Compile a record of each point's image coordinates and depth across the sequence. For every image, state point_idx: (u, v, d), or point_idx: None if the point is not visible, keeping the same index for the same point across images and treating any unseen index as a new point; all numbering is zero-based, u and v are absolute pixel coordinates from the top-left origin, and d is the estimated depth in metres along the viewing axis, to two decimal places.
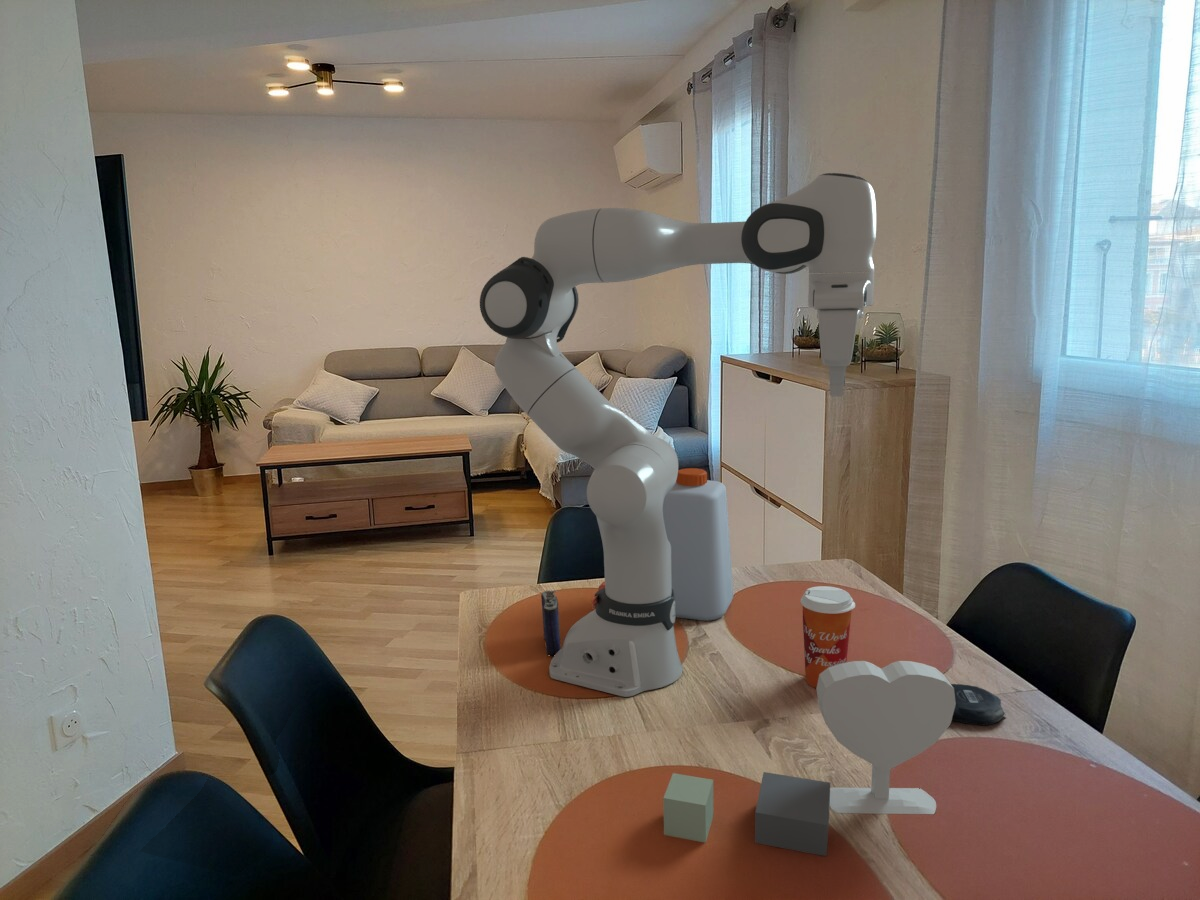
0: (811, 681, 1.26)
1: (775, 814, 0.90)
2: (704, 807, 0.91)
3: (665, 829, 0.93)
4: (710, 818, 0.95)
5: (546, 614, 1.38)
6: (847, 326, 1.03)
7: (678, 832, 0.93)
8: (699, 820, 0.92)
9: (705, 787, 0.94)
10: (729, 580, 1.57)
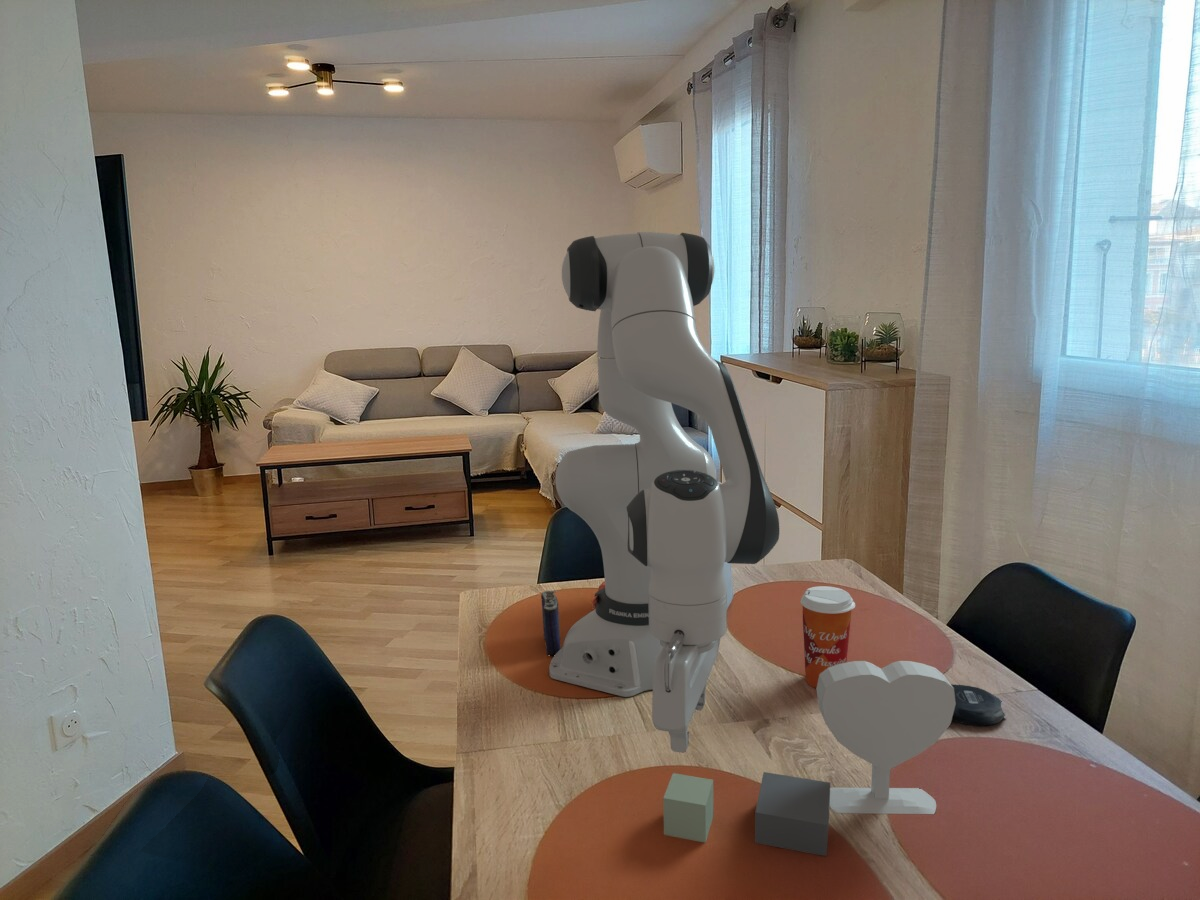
0: (811, 681, 1.26)
1: (775, 814, 0.90)
2: (704, 807, 0.91)
3: (665, 829, 0.93)
4: (710, 818, 0.95)
5: (546, 614, 1.38)
6: None
7: (678, 832, 0.93)
8: (699, 820, 0.92)
9: (705, 787, 0.94)
10: (729, 580, 1.57)
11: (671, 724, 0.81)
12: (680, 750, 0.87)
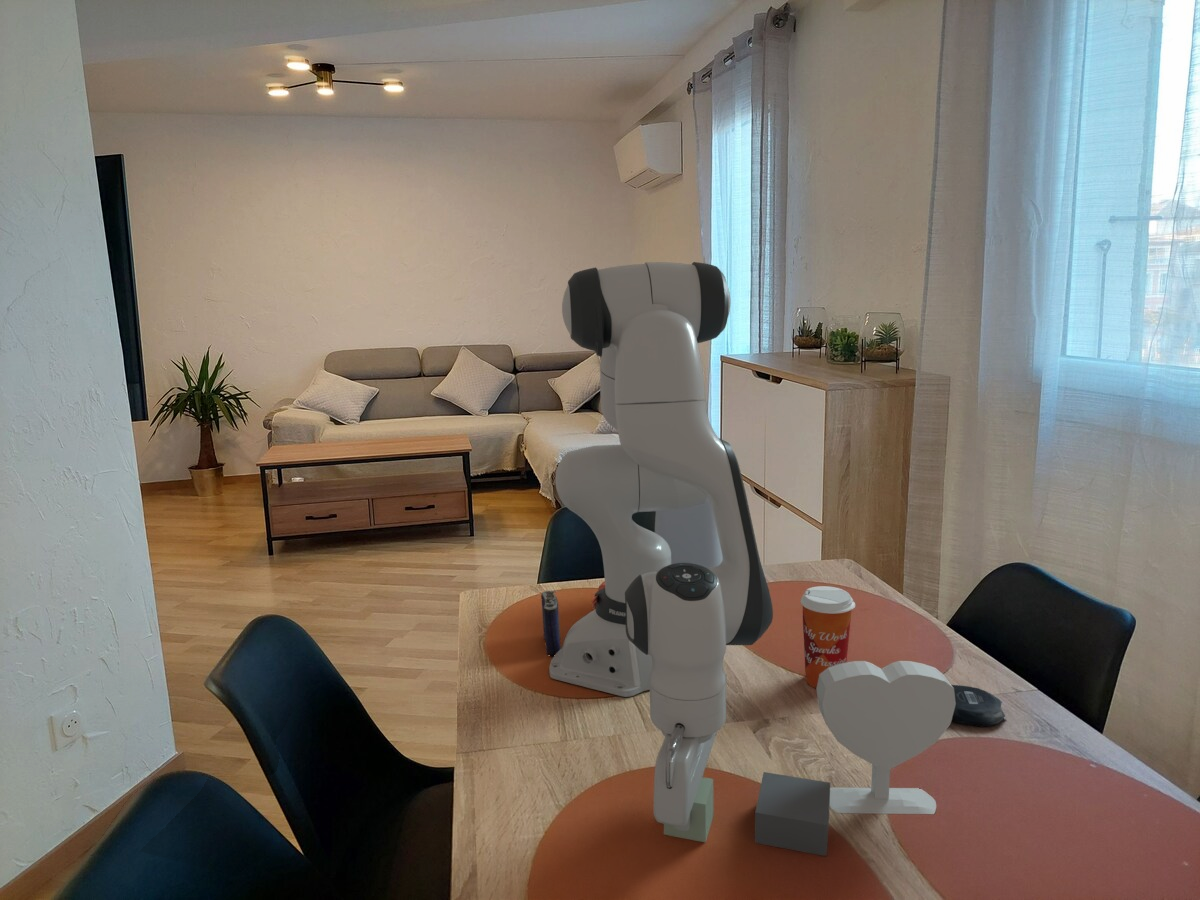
0: (811, 681, 1.26)
1: (775, 814, 0.90)
2: (704, 806, 0.91)
3: (665, 828, 0.93)
4: (710, 817, 0.95)
5: (546, 614, 1.38)
6: None
7: (678, 831, 0.93)
8: (699, 819, 0.92)
9: (705, 786, 0.94)
10: None
11: (671, 819, 0.84)
12: (683, 828, 0.91)
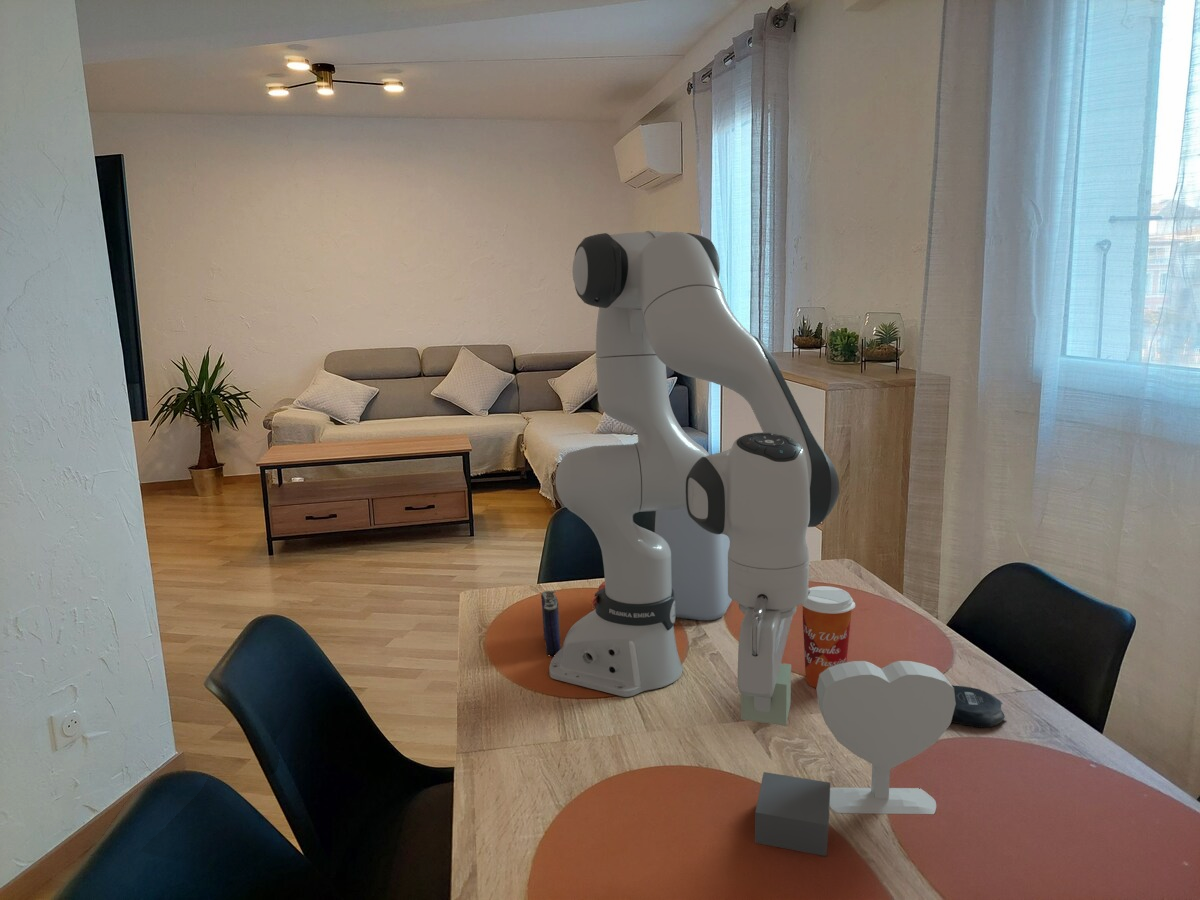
0: (811, 681, 1.26)
1: (775, 814, 0.90)
2: (785, 686, 0.87)
3: (742, 713, 0.89)
4: (789, 703, 0.91)
5: (546, 614, 1.38)
6: None
7: (756, 715, 0.89)
8: (779, 701, 0.88)
9: (784, 670, 0.90)
10: None
11: (757, 689, 0.80)
12: (763, 709, 0.87)
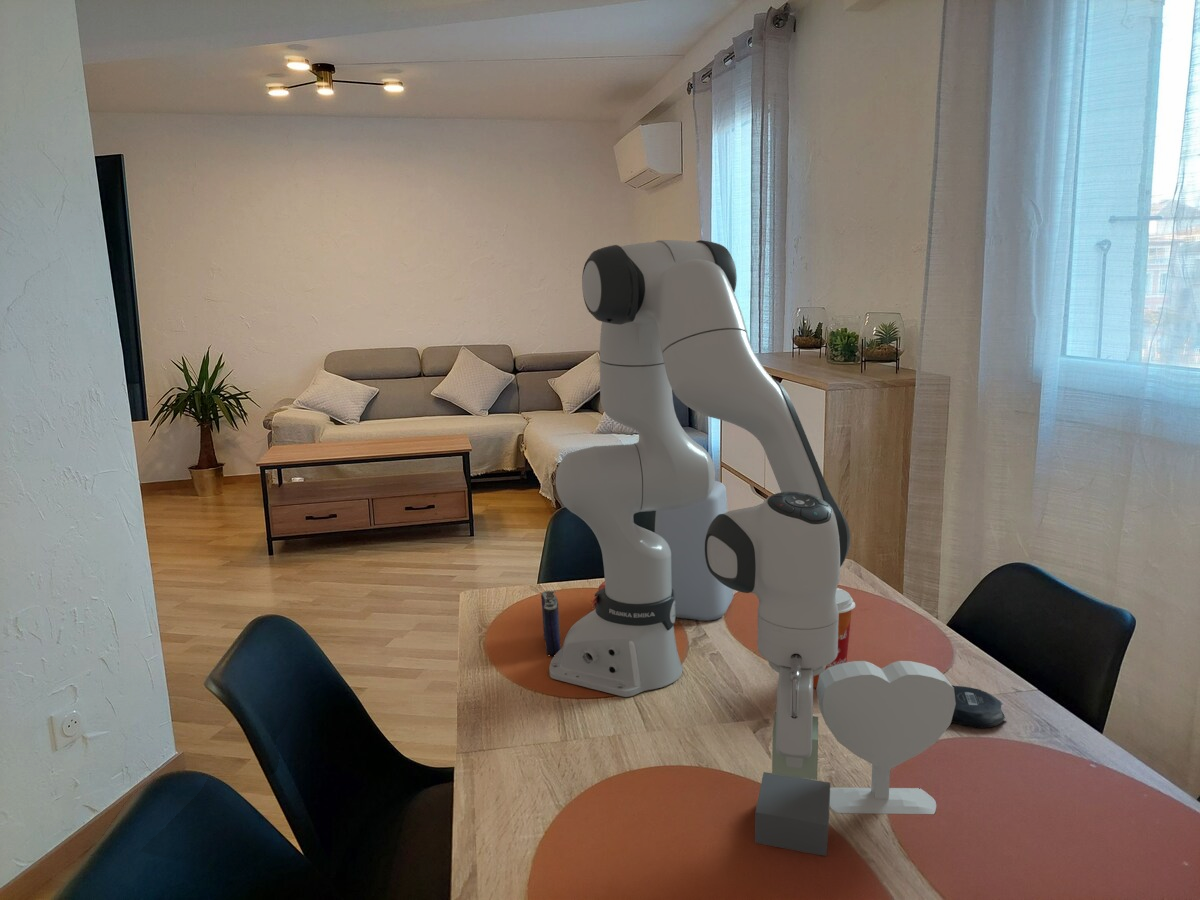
0: None
1: (775, 814, 0.90)
2: (817, 742, 0.88)
3: (774, 768, 0.90)
4: None
5: (546, 614, 1.38)
6: None
7: (788, 770, 0.90)
8: (811, 756, 0.89)
9: (813, 723, 0.92)
10: None
11: (796, 750, 0.81)
12: (796, 765, 0.88)
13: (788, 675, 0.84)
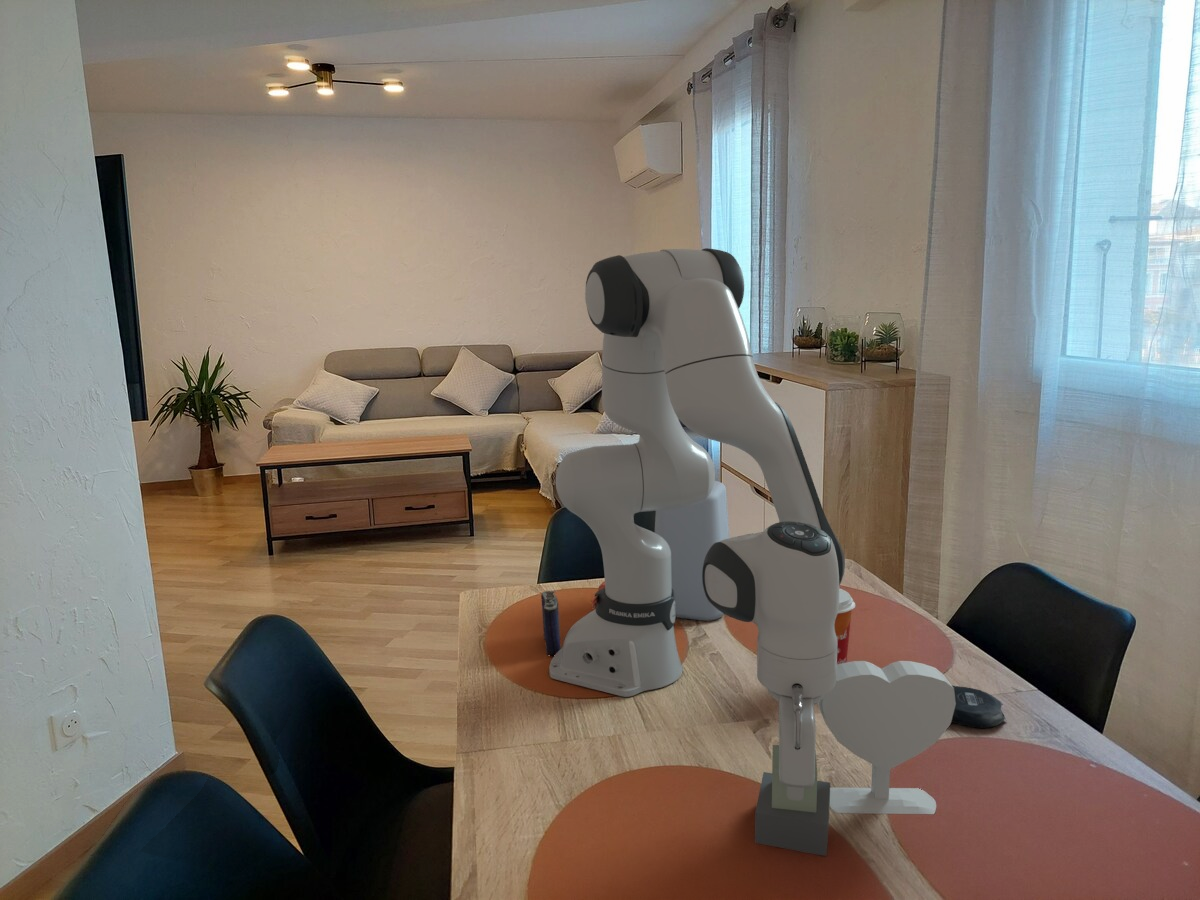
0: None
1: (775, 814, 0.90)
2: (816, 775, 0.90)
3: (773, 801, 0.91)
4: None
5: (546, 614, 1.38)
6: None
7: (787, 803, 0.91)
8: (810, 789, 0.90)
9: None
10: None
11: (800, 781, 0.82)
12: (796, 798, 0.88)
13: (790, 705, 0.85)
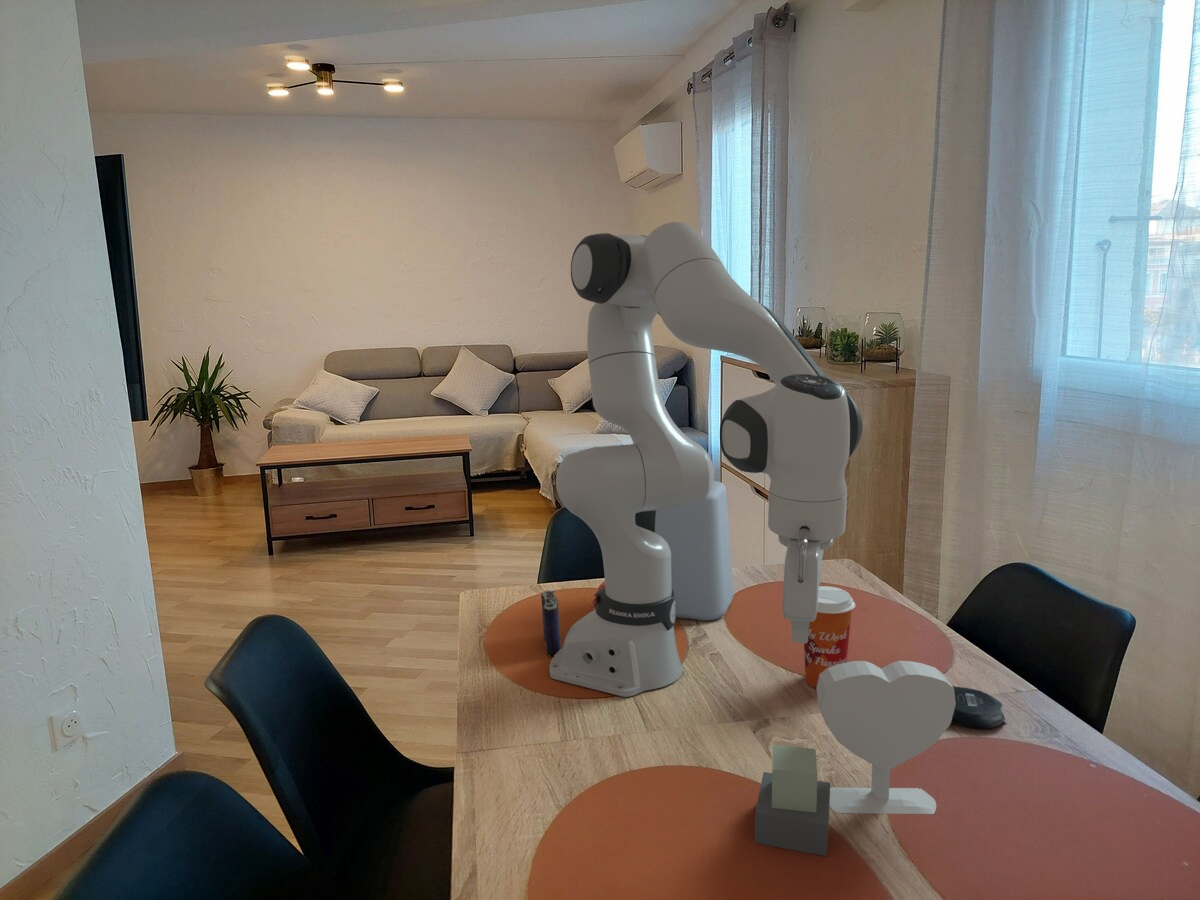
0: (811, 681, 1.26)
1: (775, 814, 0.90)
2: (816, 775, 0.90)
3: (773, 801, 0.91)
4: None
5: (546, 614, 1.38)
6: None
7: (787, 803, 0.91)
8: (810, 789, 0.90)
9: (810, 756, 0.93)
10: (729, 580, 1.57)
11: (802, 613, 0.85)
12: (801, 641, 0.91)
13: (796, 545, 0.88)
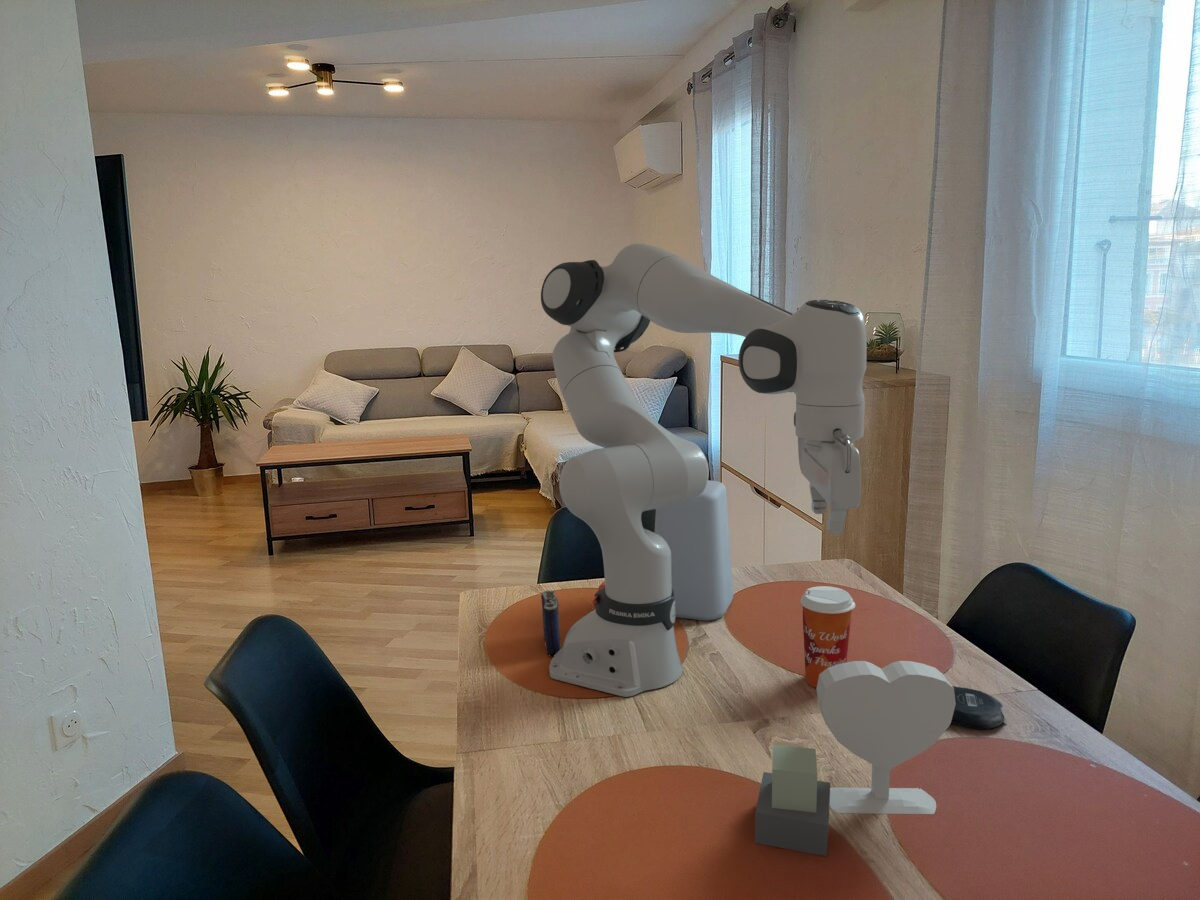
0: (811, 681, 1.26)
1: (775, 814, 0.90)
2: (816, 775, 0.90)
3: (773, 801, 0.91)
4: None
5: (546, 614, 1.38)
6: None
7: (787, 803, 0.91)
8: (810, 789, 0.90)
9: (810, 756, 0.93)
10: (729, 580, 1.57)
11: (849, 500, 0.97)
12: (838, 532, 1.03)
13: (834, 445, 1.00)
